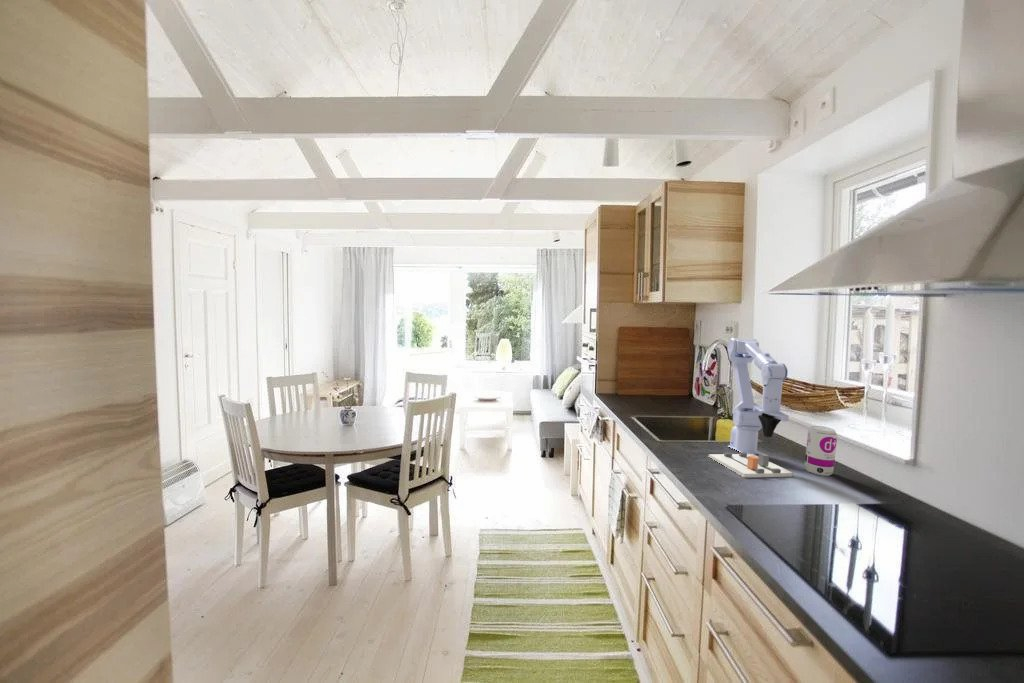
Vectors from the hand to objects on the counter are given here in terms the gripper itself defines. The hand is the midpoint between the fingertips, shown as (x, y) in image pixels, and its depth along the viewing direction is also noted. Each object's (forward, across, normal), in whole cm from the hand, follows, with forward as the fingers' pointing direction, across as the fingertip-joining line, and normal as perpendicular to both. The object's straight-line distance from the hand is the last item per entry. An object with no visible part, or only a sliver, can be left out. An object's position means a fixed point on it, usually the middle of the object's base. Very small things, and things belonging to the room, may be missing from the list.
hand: (767, 436), depth 163 cm
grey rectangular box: (+8, +5, -5) cm, 11 cm away
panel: (+10, +2, -8) cm, 13 cm away
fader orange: (+8, +8, -11) cm, 16 cm away
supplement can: (+10, +8, +14) cm, 19 cm away
